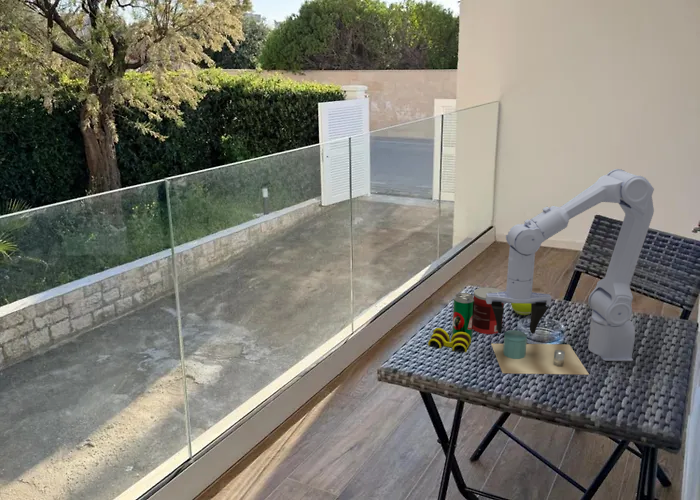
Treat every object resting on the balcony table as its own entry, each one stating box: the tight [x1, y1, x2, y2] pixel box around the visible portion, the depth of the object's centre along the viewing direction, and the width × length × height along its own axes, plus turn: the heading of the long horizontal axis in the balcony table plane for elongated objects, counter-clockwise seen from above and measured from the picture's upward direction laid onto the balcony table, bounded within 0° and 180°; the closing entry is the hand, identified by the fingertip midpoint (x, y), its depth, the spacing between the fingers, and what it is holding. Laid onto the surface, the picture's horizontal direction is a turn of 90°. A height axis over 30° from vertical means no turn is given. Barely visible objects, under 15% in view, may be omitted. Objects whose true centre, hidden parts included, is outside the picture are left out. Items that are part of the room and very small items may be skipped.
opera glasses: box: [427, 327, 472, 353], centre depth 150 cm, size 10×5×5 cm, turn 66°
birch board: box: [491, 343, 590, 376], centre depth 143 cm, size 19×15×1 cm
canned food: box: [473, 287, 505, 335], centre depth 159 cm, size 8×8×11 cm
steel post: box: [553, 350, 565, 367], centre depth 140 cm, size 2×2×3 cm
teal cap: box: [503, 329, 528, 359], centre depth 145 cm, size 5×5×5 cm
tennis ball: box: [510, 303, 531, 316], centre depth 170 cm, size 7×7×7 cm
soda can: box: [451, 292, 474, 339], centre depth 154 cm, size 5×5×12 cm
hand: (515, 331), depth 144 cm, fingers open, 7 cm apart
